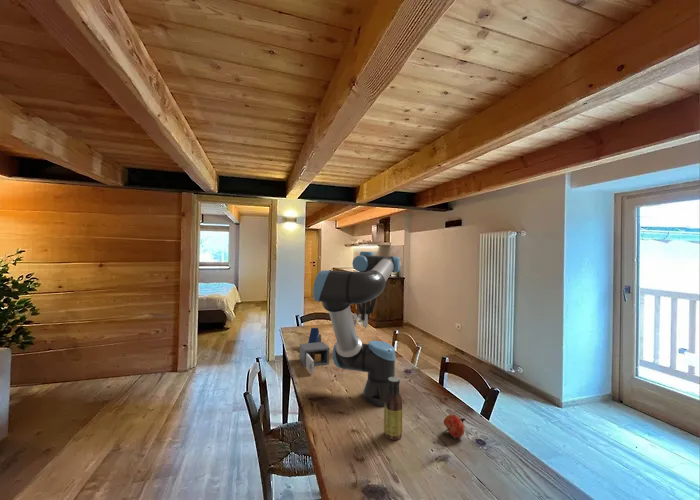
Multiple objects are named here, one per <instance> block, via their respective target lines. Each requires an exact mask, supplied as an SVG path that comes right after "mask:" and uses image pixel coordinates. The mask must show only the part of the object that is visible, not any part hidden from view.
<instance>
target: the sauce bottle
mask: <svg viewBox="0 0 700 500" xmlns="http://www.w3.org/2000/svg"><path fill="white" fill-rule="evenodd" d="M400 382H401V379H400V378H399V377H397V376H395V377H389V378H388V392H387V395H386V398H385V401H384V406H383V408H384V409H383V410H384V411H383V413H384V415H383V417H384V420H383V427H384V428H383V430H384V436H385V437H386V438H387V439H389V440H391V439H392V441H398V440H400V439H401V438H402V437H403V436H402V434H403V411H404V410H403V406H404V405H403V397H402V395H401V393H400ZM397 439H398V440H397Z"/></svg>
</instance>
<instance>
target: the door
mask: <svg viewBox="0 0 700 500" xmlns="http://www.w3.org/2000/svg"><path fill="white" fill-rule="evenodd" d="M314 367H315V366H314V360H313V359H312V358H311V357H310V355H309V354H308V353H306V367H305V368H307V369H308V371H309V373H310V374H311V375H314V374H315V373H314V372H315V368H314Z"/></svg>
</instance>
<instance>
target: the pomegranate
mask: <svg viewBox="0 0 700 500" xmlns="http://www.w3.org/2000/svg"><path fill="white" fill-rule="evenodd" d="M466 420H467V419H466V418H465V417H464V418H460V417H459V416H457V415H456V414H448V415H446V417H445V418H444V420H443V424H444V426H445V428H446V430H445V431H442V433H443V434H444V433H445V434H446V432H449V434H450V435H451V436H452V438H453V439H460V438H462V436H463V435H464V434H465V424H464V421H466Z"/></svg>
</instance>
